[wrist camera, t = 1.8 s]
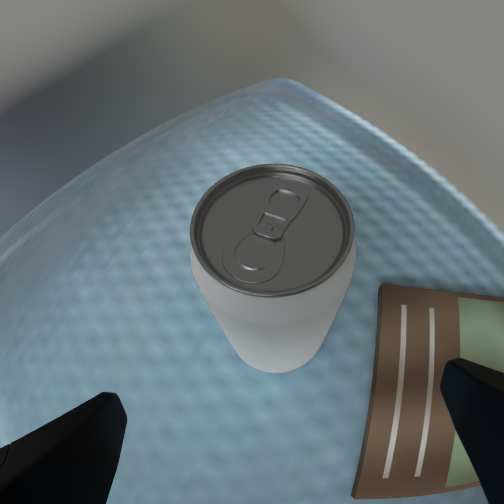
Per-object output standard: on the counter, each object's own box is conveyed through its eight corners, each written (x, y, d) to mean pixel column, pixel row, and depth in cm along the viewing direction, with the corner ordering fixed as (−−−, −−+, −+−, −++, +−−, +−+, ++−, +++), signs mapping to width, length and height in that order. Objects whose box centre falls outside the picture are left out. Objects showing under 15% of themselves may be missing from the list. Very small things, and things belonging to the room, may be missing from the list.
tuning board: (530, 467, 10) (538, 466, 10) (350, 495, 14) (354, 499, 13) (533, 306, 18) (540, 301, 17) (378, 289, 21) (382, 283, 20)
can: (213, 349, 20) (142, 261, 10) (255, 273, 23) (234, 142, 13) (301, 389, 18) (329, 345, 8) (337, 305, 21) (383, 185, 11)
